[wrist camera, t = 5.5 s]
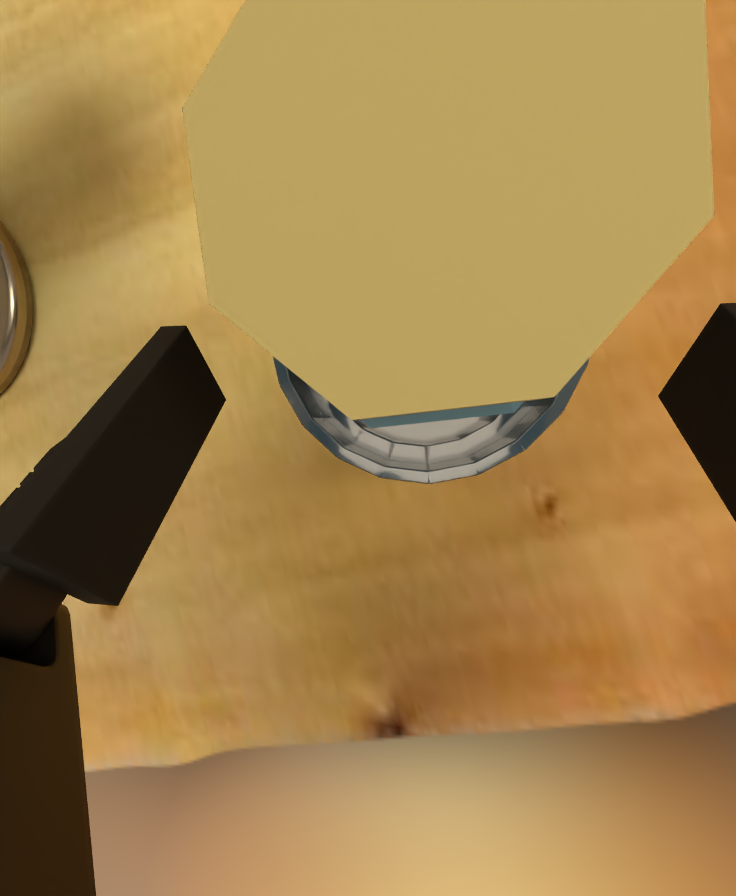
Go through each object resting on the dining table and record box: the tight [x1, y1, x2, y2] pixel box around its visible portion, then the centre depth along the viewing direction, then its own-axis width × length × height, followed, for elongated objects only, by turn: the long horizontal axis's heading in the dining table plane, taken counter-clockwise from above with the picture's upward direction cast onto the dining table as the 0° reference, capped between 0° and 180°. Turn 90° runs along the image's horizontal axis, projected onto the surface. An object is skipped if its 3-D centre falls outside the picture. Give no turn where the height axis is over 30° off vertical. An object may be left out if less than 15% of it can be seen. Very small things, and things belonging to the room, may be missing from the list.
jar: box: [182, 0, 714, 428], centre depth 13 cm, size 9×9×15 cm
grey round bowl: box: [273, 356, 589, 484], centre depth 18 cm, size 14×14×5 cm
